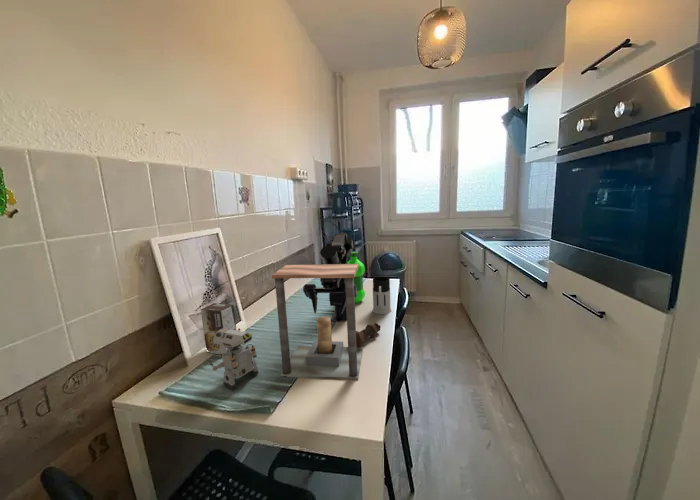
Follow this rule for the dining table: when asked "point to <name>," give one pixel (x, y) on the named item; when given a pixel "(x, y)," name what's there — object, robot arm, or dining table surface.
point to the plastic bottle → (358, 276)
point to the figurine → (235, 355)
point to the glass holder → (381, 295)
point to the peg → (324, 335)
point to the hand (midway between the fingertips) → (328, 313)
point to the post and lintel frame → (297, 362)
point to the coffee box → (217, 324)
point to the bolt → (366, 333)
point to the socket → (325, 355)
